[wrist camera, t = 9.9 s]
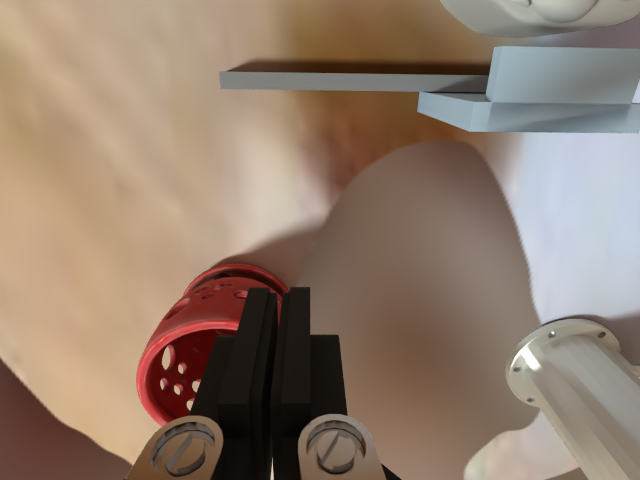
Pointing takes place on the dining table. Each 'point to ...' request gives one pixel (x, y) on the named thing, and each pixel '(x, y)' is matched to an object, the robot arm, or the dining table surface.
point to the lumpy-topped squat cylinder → (539, 15)
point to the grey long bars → (353, 81)
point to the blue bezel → (547, 92)
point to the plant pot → (196, 335)
